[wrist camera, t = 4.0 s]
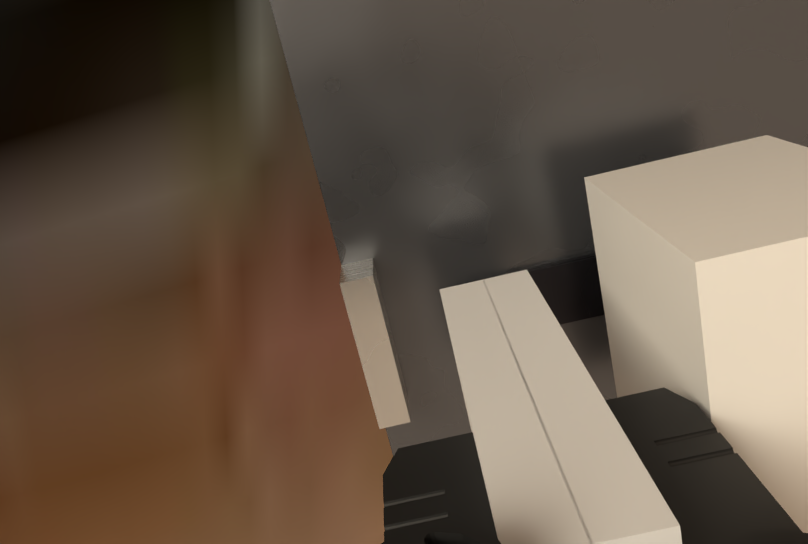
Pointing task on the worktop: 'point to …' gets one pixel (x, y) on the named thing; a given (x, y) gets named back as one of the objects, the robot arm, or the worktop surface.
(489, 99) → the console
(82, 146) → the worktop surface
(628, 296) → the block
